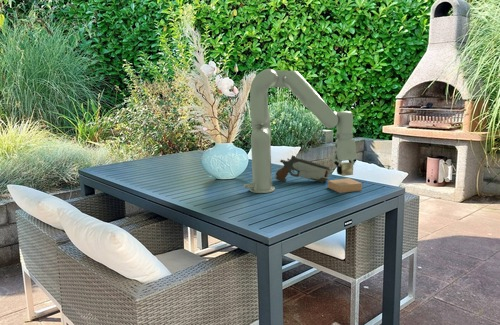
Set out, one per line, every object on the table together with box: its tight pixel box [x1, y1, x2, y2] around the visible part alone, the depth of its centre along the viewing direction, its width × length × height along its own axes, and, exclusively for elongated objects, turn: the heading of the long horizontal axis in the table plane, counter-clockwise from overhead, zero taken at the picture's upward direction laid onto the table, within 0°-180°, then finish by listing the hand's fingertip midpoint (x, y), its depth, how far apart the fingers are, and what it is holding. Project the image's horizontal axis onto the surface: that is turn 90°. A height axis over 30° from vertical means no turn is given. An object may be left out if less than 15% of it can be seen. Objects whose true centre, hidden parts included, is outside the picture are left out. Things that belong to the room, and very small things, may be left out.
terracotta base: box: [327, 177, 363, 194], centre depth 212 cm, size 12×12×4 cm
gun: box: [274, 155, 331, 184], centre depth 230 cm, size 5×27×15 cm, turn 79°
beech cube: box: [336, 161, 354, 177], centre depth 210 cm, size 6×6×6 cm
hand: (345, 172), depth 211 cm, fingers closed on beech cube, 5 cm apart
